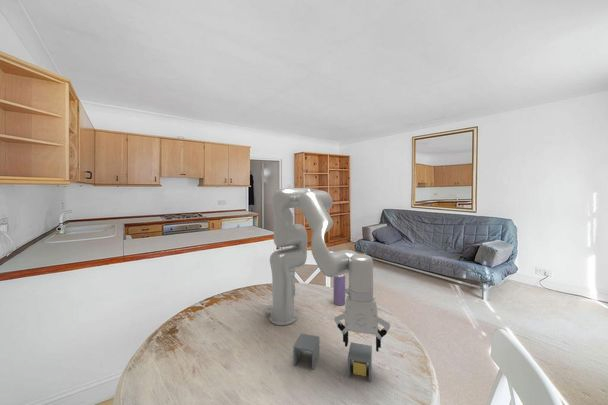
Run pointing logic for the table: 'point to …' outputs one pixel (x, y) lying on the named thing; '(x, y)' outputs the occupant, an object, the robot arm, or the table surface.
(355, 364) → the cube
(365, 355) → the right cover
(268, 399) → the table surface
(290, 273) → the plastic bottle
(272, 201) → the robot arm
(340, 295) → the beverage can
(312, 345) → the left cover
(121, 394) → the table surface
